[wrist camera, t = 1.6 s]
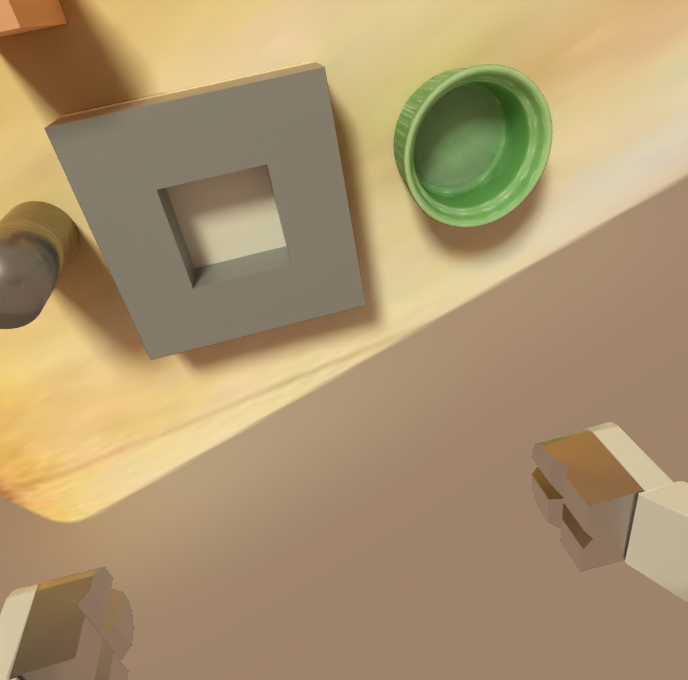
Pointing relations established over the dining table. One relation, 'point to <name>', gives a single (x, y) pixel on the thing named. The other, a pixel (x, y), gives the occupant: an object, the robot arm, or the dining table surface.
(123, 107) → the holder block
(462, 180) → the ramekin
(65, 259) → the cylinder
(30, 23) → the square bit
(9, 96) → the dining table surface
